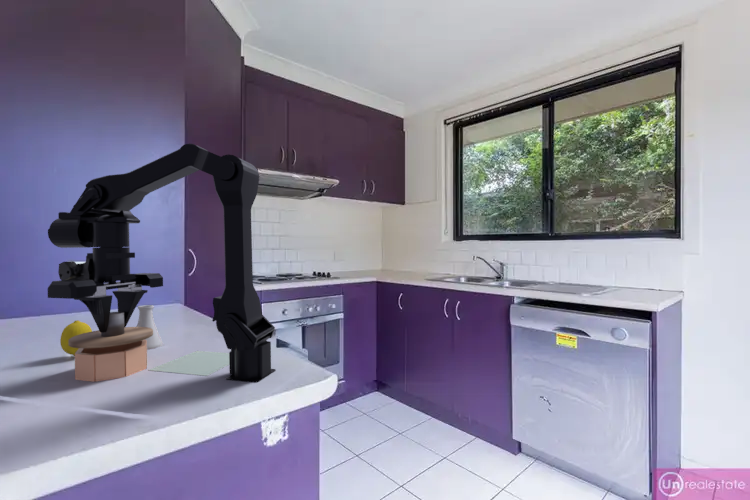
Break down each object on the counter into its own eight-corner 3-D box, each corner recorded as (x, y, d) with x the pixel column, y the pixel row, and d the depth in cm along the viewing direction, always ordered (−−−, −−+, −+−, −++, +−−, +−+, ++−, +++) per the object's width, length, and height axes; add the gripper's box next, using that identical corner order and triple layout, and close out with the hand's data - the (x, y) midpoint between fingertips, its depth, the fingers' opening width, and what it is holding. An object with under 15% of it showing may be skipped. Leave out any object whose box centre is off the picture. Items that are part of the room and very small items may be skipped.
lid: (168, 332, 74) (168, 308, 74) (107, 350, 62) (106, 322, 62) (117, 329, 78) (117, 306, 78) (49, 345, 65) (48, 318, 65)
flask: (170, 347, 88) (169, 305, 87) (137, 354, 81) (136, 309, 81) (154, 342, 91) (153, 302, 91) (121, 350, 85) (121, 307, 85)
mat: (248, 357, 79) (248, 354, 79) (206, 378, 66) (206, 375, 66) (197, 352, 82) (197, 350, 82) (148, 372, 70) (148, 370, 70)
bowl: (160, 365, 74) (159, 340, 74) (109, 385, 63) (108, 356, 63) (117, 361, 76) (116, 337, 76) (61, 380, 66) (61, 352, 66)
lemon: (75, 361, 77) (74, 323, 77) (53, 360, 78) (53, 322, 78) (100, 354, 82) (99, 318, 82) (79, 352, 83) (79, 317, 83)
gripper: (122, 247, 81) (123, 318, 81) (22, 248, 62) (24, 340, 63) (164, 246, 78) (165, 320, 78) (72, 248, 60) (74, 343, 60)
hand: (113, 329), depth 70 cm, fingers closed on lid, 3 cm apart
